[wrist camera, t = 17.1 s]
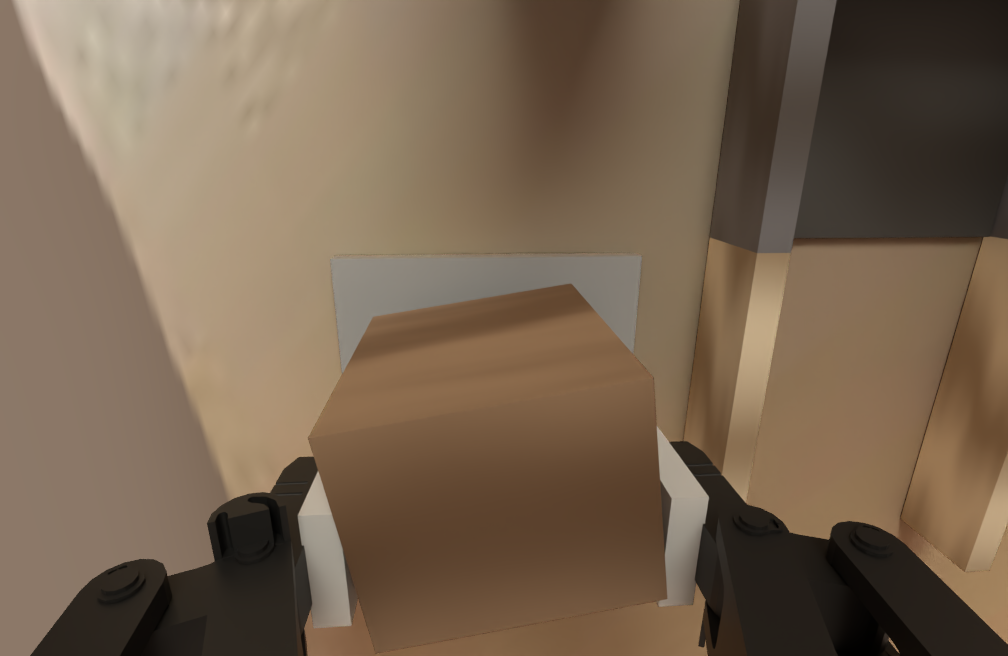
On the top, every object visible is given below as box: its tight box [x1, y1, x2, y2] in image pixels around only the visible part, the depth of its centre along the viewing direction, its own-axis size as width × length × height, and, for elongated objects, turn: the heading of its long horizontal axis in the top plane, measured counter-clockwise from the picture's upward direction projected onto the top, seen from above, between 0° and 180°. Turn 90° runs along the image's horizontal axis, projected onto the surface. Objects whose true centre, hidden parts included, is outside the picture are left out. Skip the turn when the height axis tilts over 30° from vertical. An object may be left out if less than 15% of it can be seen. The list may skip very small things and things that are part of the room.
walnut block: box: [308, 283, 667, 654], centre depth 13 cm, size 5×6×7 cm
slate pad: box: [330, 253, 642, 374], centre depth 18 cm, size 9×10×1 cm
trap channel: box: [683, 0, 1008, 572], centre depth 17 cm, size 20×11×3 cm, turn 0°
